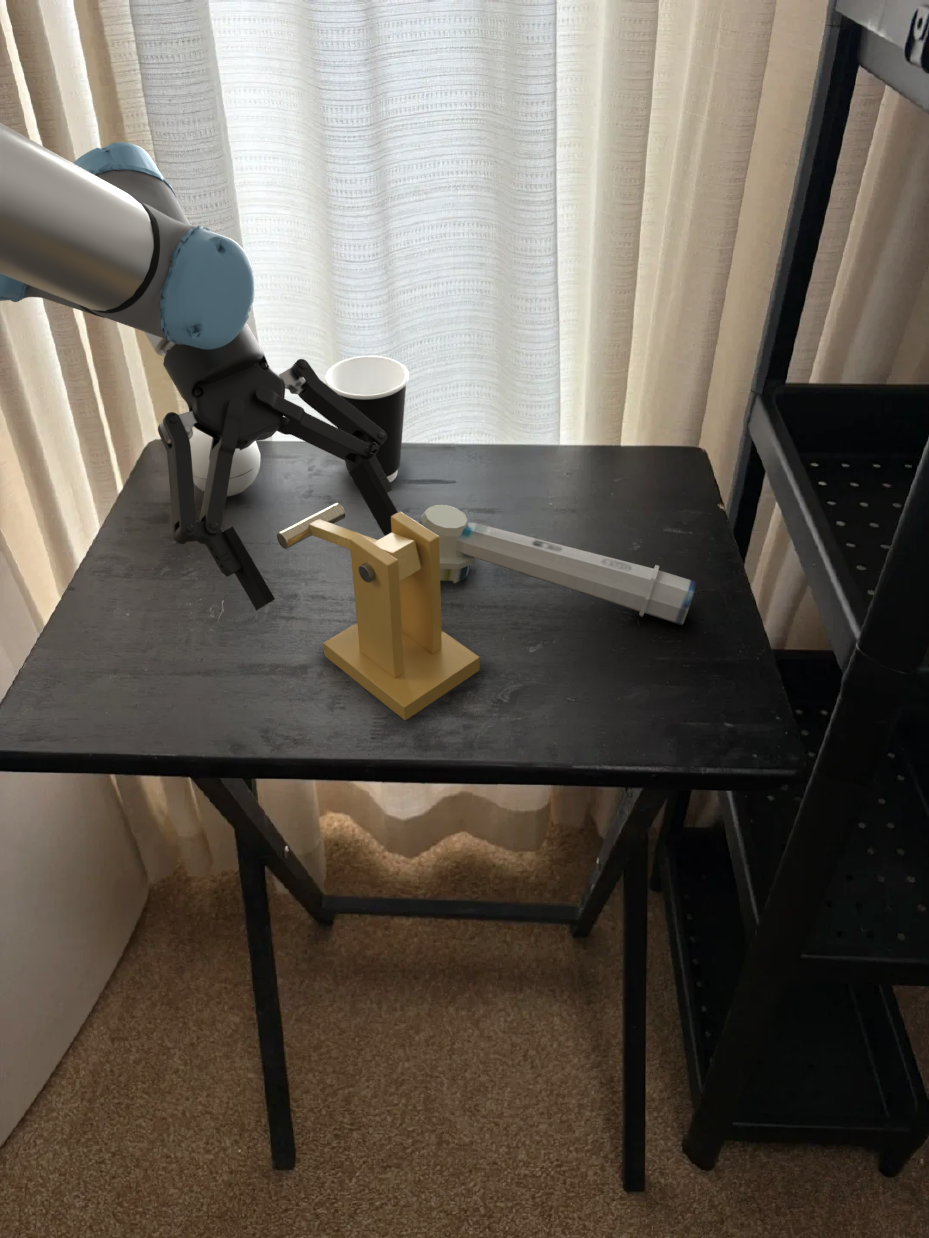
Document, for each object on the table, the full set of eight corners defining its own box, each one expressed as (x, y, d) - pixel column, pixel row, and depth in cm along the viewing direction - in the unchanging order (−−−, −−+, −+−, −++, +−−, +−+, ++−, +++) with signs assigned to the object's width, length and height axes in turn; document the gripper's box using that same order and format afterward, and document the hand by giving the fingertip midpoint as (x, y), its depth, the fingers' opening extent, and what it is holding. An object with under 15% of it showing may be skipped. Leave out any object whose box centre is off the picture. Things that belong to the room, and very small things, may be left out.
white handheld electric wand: (691, 604, 84) (402, 513, 88) (669, 661, 89) (395, 572, 92) (701, 565, 88) (423, 480, 92) (679, 622, 93) (416, 538, 96)
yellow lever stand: (324, 656, 86) (308, 530, 77) (398, 611, 90) (391, 487, 81) (405, 720, 80) (397, 593, 72) (479, 670, 84) (481, 544, 76)
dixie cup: (428, 468, 106) (426, 370, 99) (378, 505, 101) (372, 405, 94) (369, 443, 110) (362, 347, 102) (318, 478, 105) (307, 379, 98)
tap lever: (280, 552, 85) (272, 525, 84) (338, 521, 88) (331, 495, 87) (379, 593, 76) (372, 564, 75) (440, 557, 79) (434, 529, 78)
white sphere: (206, 465, 107) (193, 402, 102) (275, 473, 106) (266, 409, 101) (166, 522, 99) (150, 457, 95) (240, 532, 98) (228, 466, 93)
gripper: (66, 371, 74) (218, 629, 76) (341, 271, 87) (465, 493, 89) (50, 409, 81) (191, 646, 83) (308, 310, 94) (425, 517, 96)
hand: (333, 568), depth 86 cm, fingers open, 13 cm apart
